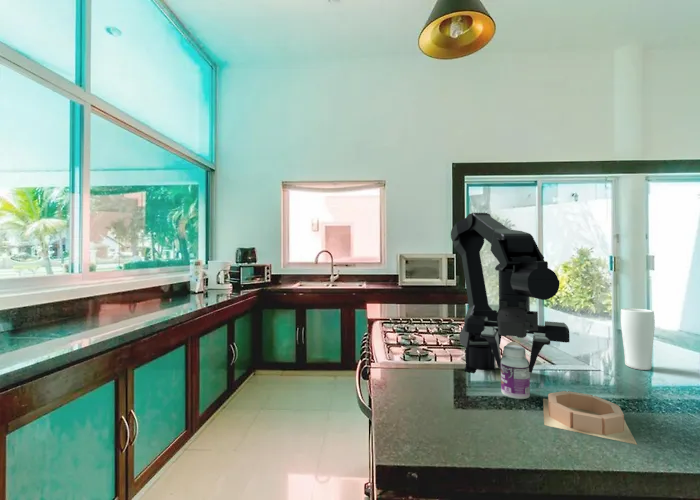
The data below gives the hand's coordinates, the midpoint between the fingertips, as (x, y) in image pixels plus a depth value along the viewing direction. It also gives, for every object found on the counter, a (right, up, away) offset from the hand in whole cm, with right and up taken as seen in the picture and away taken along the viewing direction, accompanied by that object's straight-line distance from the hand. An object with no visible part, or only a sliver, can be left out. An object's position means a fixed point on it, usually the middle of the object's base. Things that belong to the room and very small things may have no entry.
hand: (514, 369), depth 69 cm
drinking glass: (+42, -6, +19) cm, 46 cm away
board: (+7, -6, -11) cm, 14 cm away
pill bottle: (0, -5, 0) cm, 5 cm away
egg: (+7, -6, +14) cm, 17 cm away
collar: (+7, -5, -11) cm, 13 cm away
